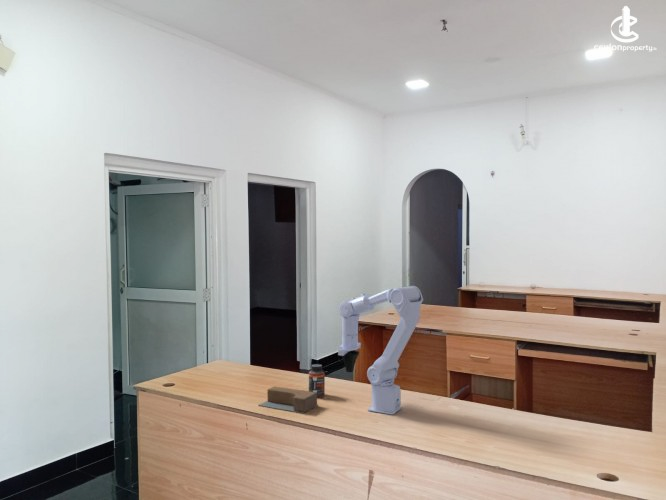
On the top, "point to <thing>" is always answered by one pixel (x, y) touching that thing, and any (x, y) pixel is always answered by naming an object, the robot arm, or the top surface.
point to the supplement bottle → (317, 380)
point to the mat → (281, 406)
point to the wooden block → (293, 398)
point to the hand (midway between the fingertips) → (349, 371)
